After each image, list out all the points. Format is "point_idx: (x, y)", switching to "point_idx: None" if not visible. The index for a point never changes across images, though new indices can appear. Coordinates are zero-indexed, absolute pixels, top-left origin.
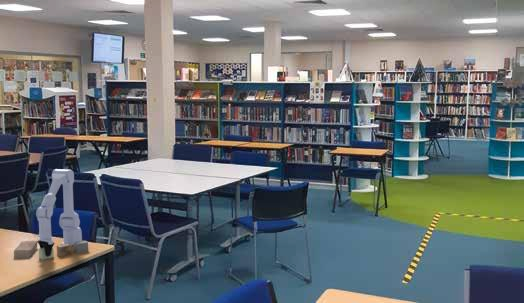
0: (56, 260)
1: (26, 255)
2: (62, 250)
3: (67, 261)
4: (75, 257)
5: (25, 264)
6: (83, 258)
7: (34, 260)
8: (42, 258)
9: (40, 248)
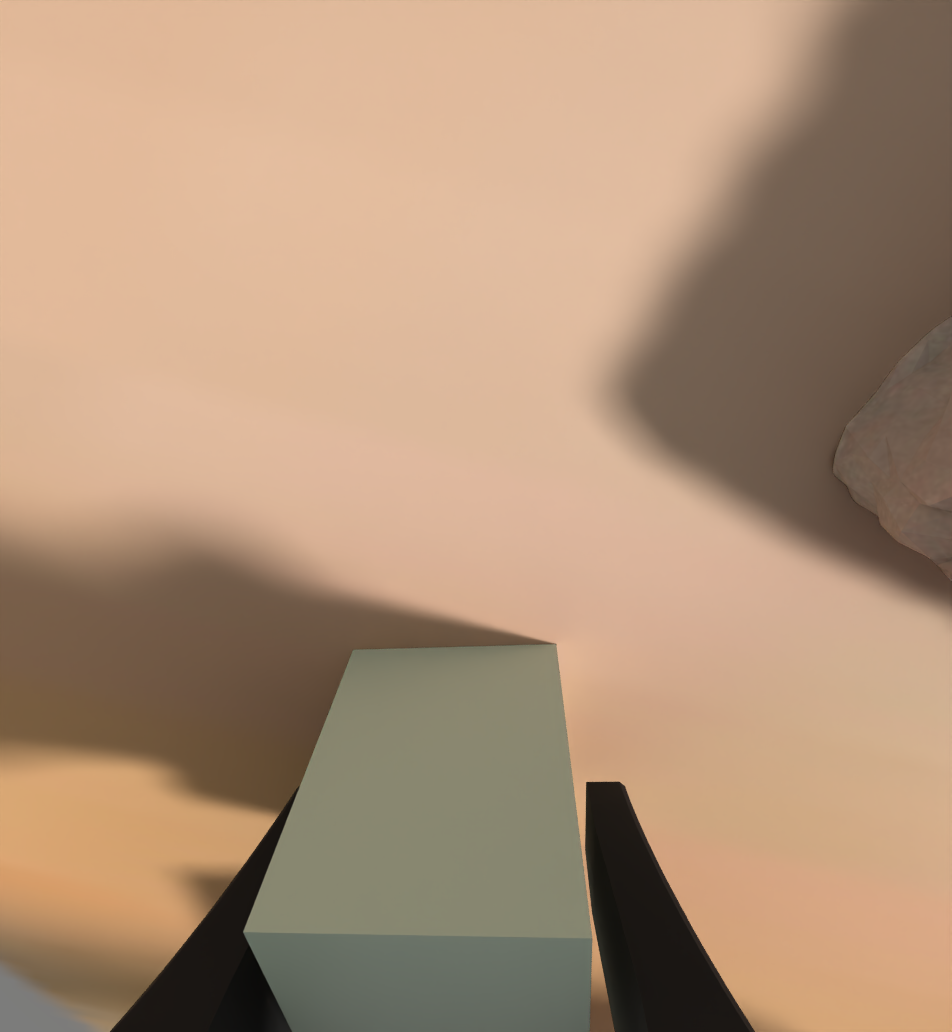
0: (148, 815)
1: (944, 402)
2: None
3: (18, 895)
4: None
5: (86, 121)
6: (97, 1027)
7: (394, 495)
8: (347, 681)
9: (571, 975)
